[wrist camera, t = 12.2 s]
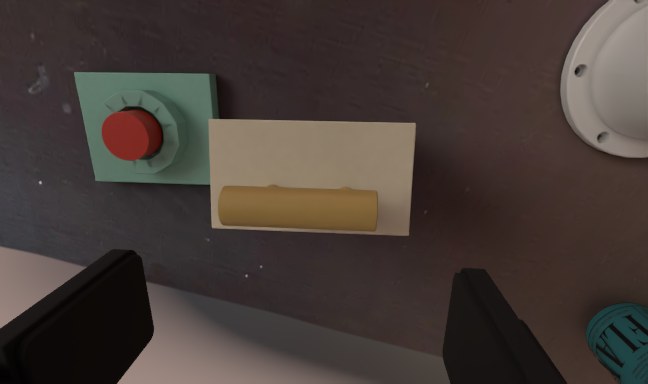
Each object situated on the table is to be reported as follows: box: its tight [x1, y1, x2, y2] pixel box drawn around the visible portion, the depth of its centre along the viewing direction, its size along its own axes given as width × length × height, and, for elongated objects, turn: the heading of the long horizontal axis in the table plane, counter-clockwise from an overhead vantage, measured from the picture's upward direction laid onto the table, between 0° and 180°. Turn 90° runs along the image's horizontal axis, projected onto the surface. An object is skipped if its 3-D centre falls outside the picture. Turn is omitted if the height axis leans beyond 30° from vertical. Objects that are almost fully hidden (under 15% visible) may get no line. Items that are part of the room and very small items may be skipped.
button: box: [102, 110, 162, 161], centre depth 26 cm, size 4×4×2 cm
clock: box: [208, 119, 416, 236], centre depth 21 cm, size 10×16×6 cm
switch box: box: [74, 72, 219, 185], centre depth 28 cm, size 11×9×3 cm
